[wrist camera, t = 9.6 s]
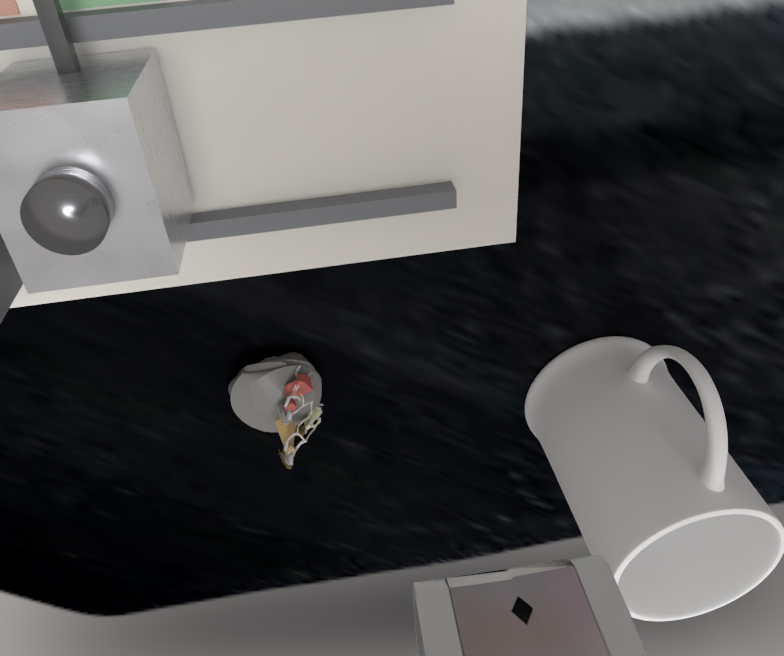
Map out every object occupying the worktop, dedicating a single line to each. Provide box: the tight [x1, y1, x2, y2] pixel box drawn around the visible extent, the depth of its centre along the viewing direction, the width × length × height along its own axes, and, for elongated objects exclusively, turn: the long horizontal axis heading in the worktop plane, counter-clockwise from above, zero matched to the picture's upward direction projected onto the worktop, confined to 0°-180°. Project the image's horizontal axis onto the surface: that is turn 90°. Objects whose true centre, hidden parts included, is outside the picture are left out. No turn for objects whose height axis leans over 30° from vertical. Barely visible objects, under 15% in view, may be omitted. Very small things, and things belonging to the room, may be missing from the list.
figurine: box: [228, 352, 323, 469], centre depth 33 cm, size 5×4×6 cm
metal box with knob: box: [0, 0, 195, 294], centre depth 22 cm, size 5×9×7 cm, turn 4°
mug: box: [525, 336, 784, 621], centre depth 34 cm, size 12×8×12 cm
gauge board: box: [0, 0, 527, 324], centre depth 24 cm, size 24×14×7 cm, turn 94°
